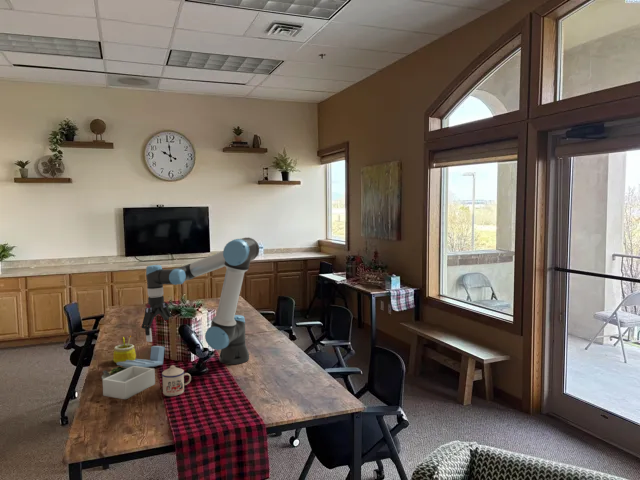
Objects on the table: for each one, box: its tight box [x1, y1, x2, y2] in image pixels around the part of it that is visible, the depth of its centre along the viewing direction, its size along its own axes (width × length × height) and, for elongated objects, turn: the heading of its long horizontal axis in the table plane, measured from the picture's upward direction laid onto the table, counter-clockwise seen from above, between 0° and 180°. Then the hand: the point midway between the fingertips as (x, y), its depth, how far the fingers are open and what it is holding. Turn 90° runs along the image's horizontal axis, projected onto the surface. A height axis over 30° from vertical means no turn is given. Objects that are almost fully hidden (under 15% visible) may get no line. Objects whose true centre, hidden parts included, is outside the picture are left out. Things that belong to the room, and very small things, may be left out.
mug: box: [112, 335, 137, 364], centre depth 250 cm, size 13×11×12 cm
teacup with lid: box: [161, 364, 192, 397], centre depth 208 cm, size 12×9×12 cm
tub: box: [101, 366, 156, 400], centre depth 212 cm, size 12×18×7 cm, turn 159°
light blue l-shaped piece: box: [116, 345, 166, 368], centre depth 238 cm, size 12×22×9 cm, turn 156°
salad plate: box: [101, 366, 127, 380], centre depth 229 cm, size 19×18×5 cm
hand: (158, 337), depth 246 cm, fingers open, 13 cm apart
